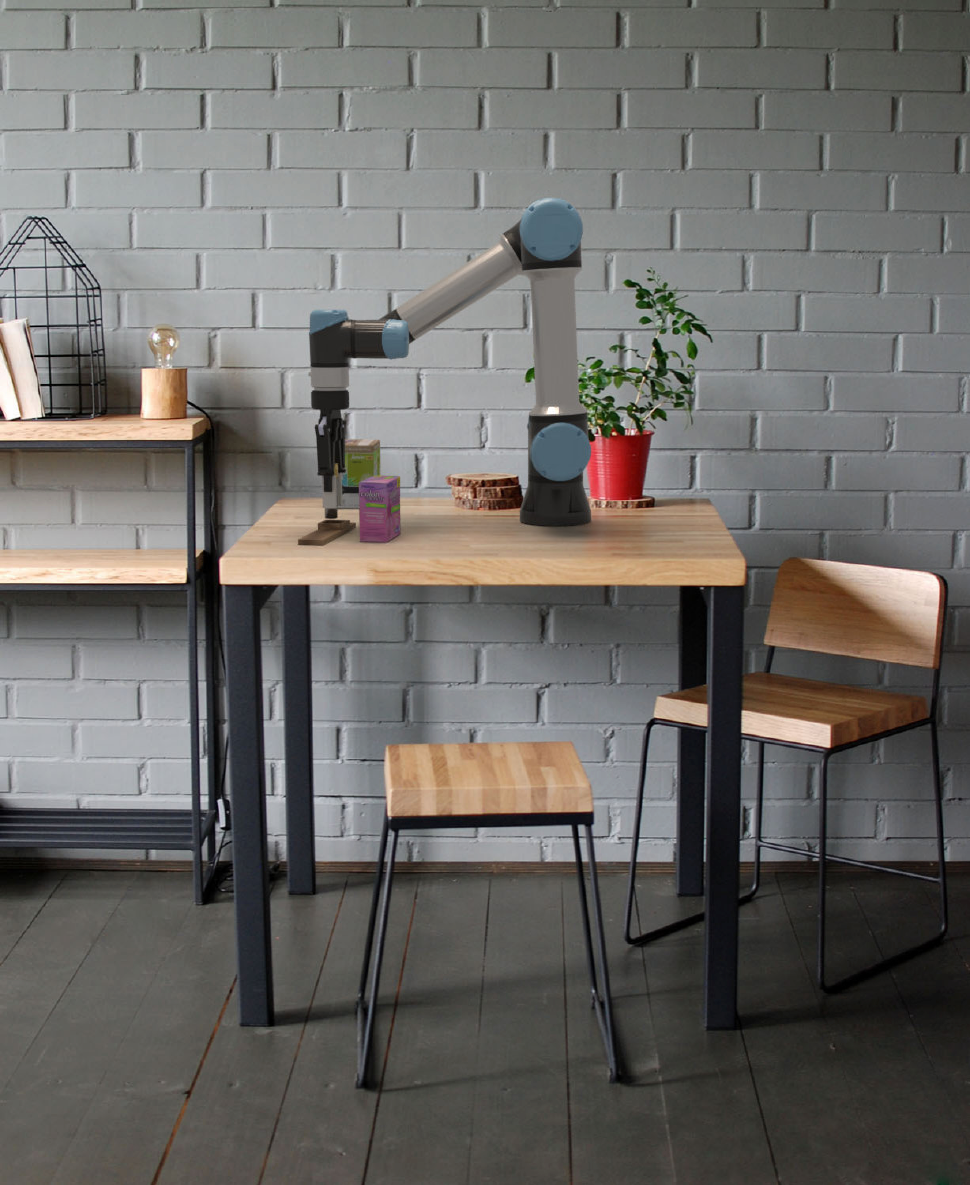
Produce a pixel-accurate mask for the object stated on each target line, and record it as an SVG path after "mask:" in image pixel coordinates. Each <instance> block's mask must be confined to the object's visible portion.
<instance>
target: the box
mask: <svg viewBox="0 0 970 1185" xmlns="http://www.w3.org/2000/svg"><path fill="white" fill-rule="evenodd" d="M358 512H359V514H358V515H359V516H358V518H359V519H358V520H359V522H358V523H359V525H358V526H359V529H358V530H359V542H360V543H374V544H375V543H379V544H380V543H383V544H387V543H388V542H390V541H391V540H393V539H395V538H396V537H398V536H399V535H401V476H399V475H380V476H378V475H376V476H372V477H370V478H368V479H365V480H363V481H361V482H359V508H358Z"/></svg>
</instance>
